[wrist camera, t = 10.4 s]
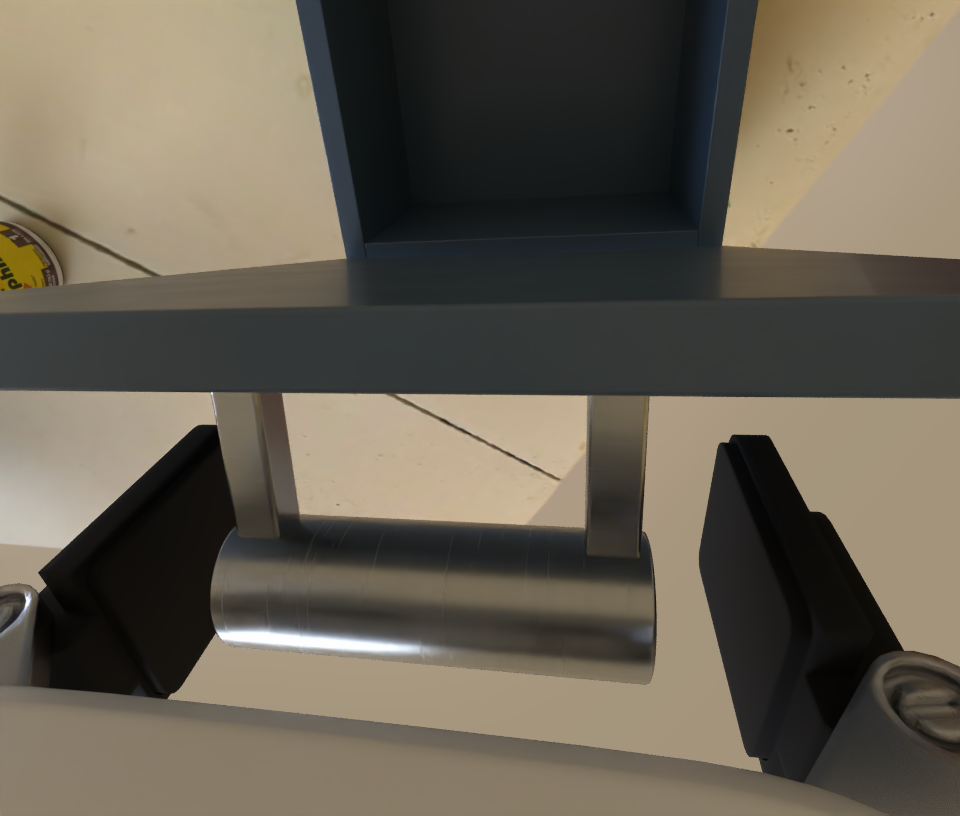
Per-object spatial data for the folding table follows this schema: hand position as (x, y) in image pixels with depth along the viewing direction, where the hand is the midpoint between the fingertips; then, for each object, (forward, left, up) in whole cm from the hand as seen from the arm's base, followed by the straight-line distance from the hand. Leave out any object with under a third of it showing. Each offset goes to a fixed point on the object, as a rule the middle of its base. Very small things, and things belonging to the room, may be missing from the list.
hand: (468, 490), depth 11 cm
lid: (-3, 0, -5) cm, 6 cm away
